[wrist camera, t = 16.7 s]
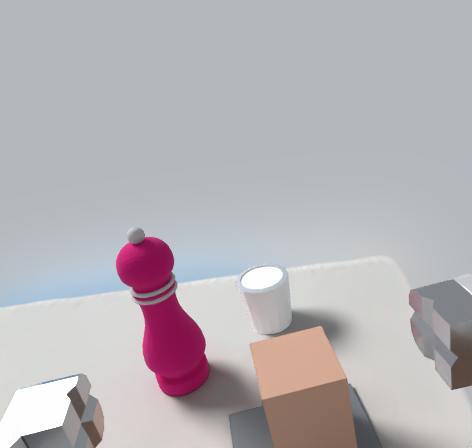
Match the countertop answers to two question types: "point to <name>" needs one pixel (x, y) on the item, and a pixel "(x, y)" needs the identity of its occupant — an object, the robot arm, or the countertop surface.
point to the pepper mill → (163, 315)
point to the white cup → (266, 297)
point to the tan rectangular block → (304, 391)
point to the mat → (259, 437)
